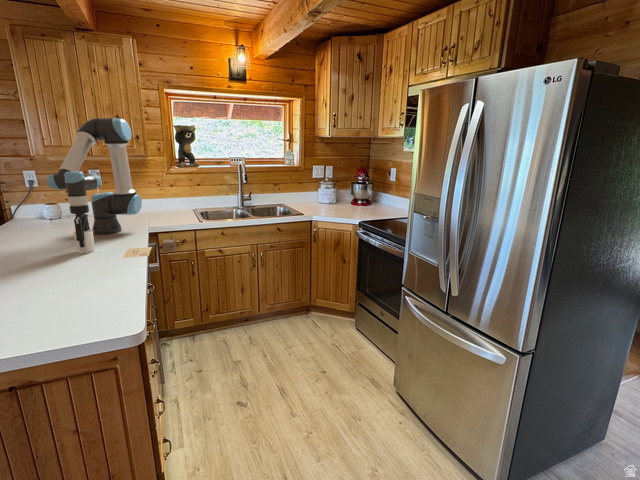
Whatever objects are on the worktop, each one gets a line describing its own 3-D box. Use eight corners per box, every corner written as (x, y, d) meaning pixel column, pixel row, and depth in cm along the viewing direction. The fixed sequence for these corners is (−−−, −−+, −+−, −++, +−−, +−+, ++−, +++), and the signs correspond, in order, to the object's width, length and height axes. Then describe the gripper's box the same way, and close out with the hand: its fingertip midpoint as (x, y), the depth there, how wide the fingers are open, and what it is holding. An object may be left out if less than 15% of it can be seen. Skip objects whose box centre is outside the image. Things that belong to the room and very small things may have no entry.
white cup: (74, 254, 172) (70, 234, 170) (80, 250, 180) (76, 230, 177) (92, 253, 174) (89, 233, 172) (98, 248, 182) (94, 229, 179)
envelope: (128, 249, 181) (127, 248, 181) (152, 247, 185) (151, 246, 184) (122, 258, 166) (122, 257, 166) (148, 256, 170) (148, 255, 170)
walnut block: (165, 249, 181) (164, 240, 180) (175, 249, 182) (175, 239, 181) (163, 252, 176) (162, 242, 175) (174, 252, 177) (173, 242, 176)
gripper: (75, 202, 179) (83, 246, 185) (62, 208, 161) (71, 257, 166) (93, 201, 182) (99, 245, 187) (82, 207, 163) (89, 256, 169)
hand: (86, 251), depth 177 cm, fingers closed on white cup, 8 cm apart
